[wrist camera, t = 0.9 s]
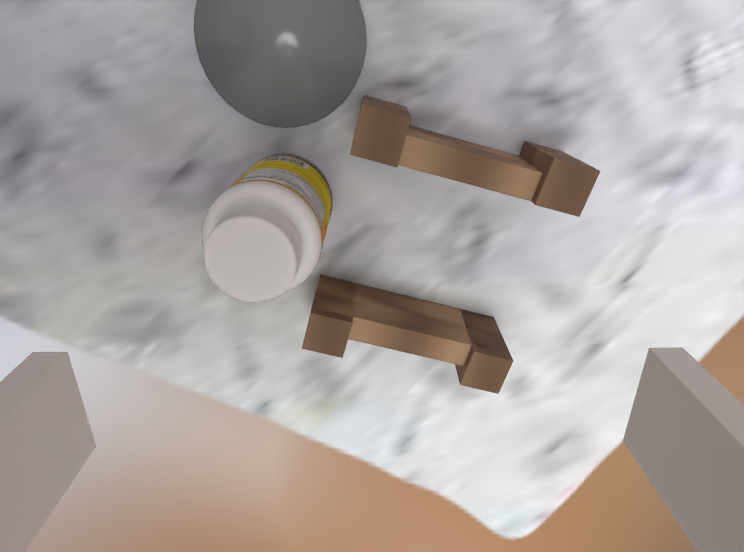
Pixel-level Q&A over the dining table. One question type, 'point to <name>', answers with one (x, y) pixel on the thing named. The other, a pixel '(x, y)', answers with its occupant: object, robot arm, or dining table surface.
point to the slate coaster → (281, 55)
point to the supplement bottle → (267, 229)
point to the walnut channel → (423, 318)
